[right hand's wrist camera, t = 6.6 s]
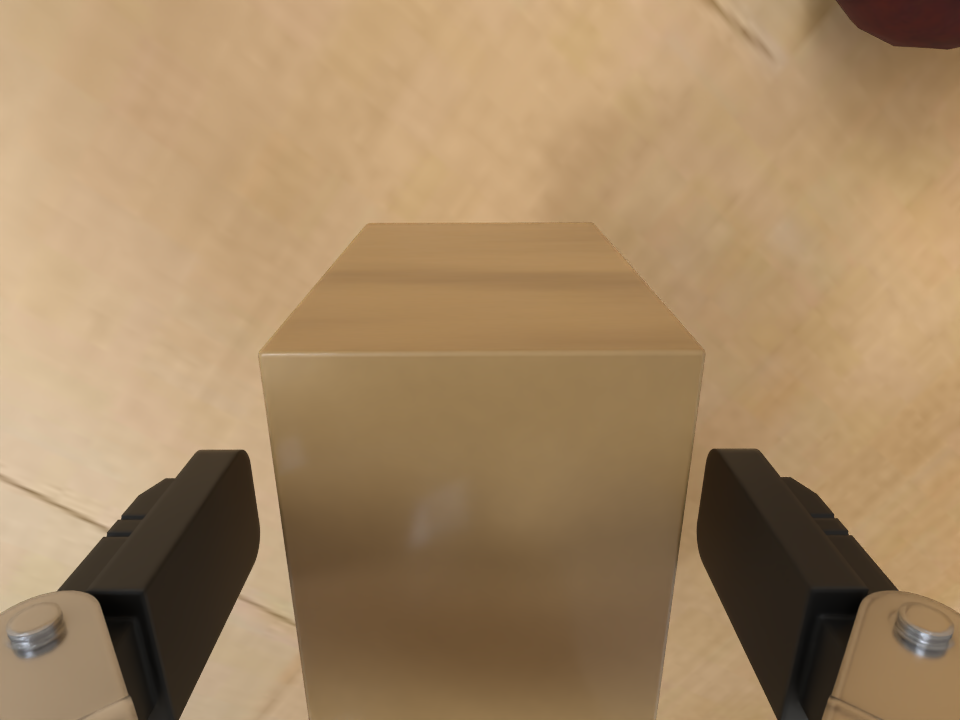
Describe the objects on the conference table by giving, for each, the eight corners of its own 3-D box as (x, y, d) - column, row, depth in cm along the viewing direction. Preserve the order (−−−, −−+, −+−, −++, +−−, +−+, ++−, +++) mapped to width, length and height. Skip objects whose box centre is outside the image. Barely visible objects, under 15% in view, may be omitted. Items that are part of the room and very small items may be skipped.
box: (366, 222, 18) (254, 352, 9) (594, 221, 18) (707, 349, 9) (401, 742, 26) (360, 1093, 17) (562, 742, 26) (607, 1092, 17)
